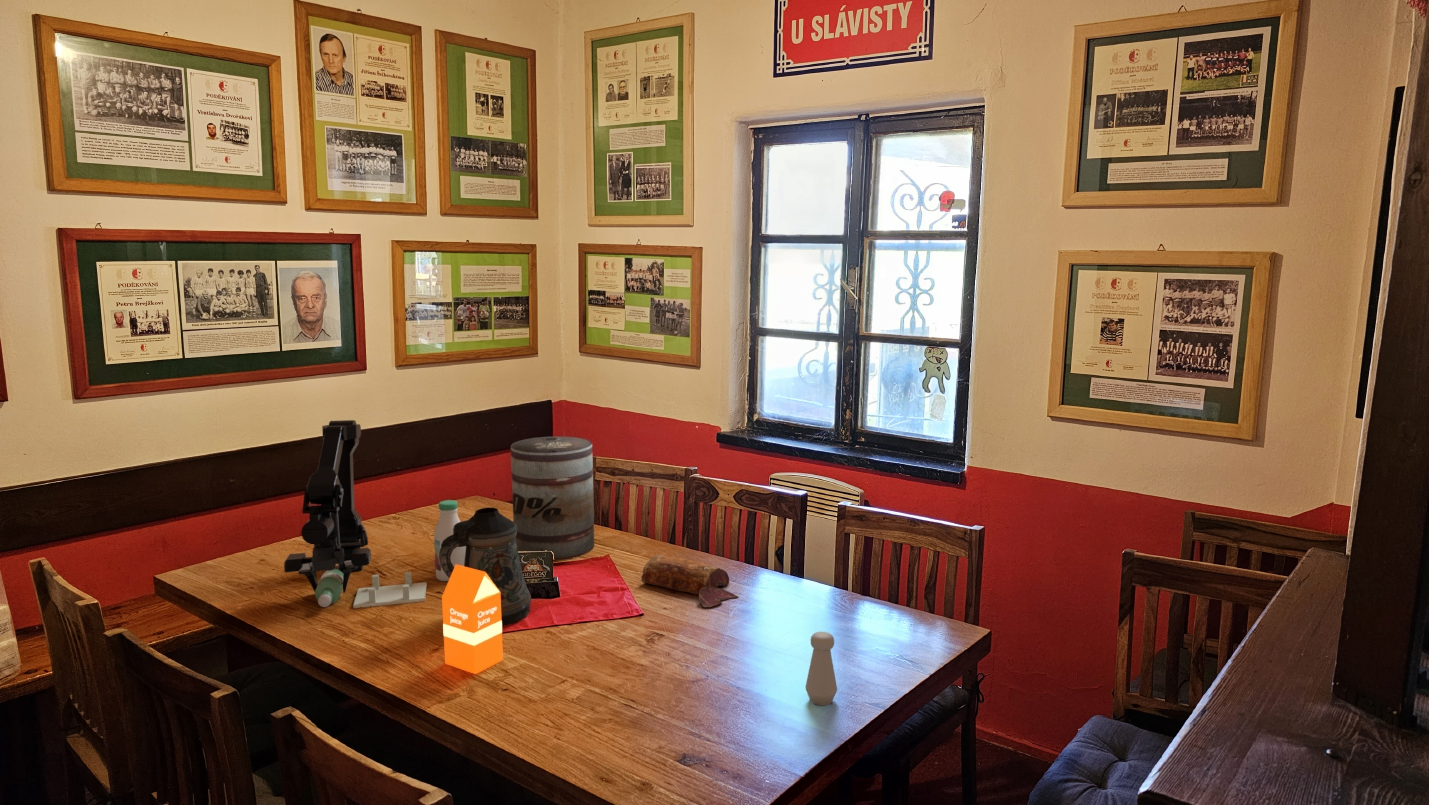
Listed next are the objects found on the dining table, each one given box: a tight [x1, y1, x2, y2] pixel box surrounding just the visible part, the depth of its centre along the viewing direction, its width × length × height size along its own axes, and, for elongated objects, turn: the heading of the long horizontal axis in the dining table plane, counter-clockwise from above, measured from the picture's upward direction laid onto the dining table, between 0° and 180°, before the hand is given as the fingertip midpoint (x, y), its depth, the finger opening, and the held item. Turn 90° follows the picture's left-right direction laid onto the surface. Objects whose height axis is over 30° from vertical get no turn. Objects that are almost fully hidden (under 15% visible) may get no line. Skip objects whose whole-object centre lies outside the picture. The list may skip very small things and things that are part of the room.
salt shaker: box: [805, 631, 838, 707], centre depth 163 cm, size 6×6×13 cm
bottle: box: [314, 568, 344, 608], centre depth 211 cm, size 14×6×6 cm, turn 16°
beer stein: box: [439, 507, 532, 627], centre depth 201 cm, size 16×19×25 cm
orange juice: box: [441, 564, 504, 675], centre depth 178 cm, size 8×9×20 cm
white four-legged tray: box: [352, 571, 427, 609], centre depth 215 cm, size 16×11×4 cm
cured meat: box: [640, 554, 739, 608], centre depth 219 cm, size 18×25×7 cm
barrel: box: [510, 436, 595, 561], centre depth 249 cm, size 22×22×30 cm
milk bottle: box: [433, 499, 466, 582], centre depth 227 cm, size 8×8×20 cm
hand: (330, 593), depth 214 cm, fingers closed on bottle, 6 cm apart
